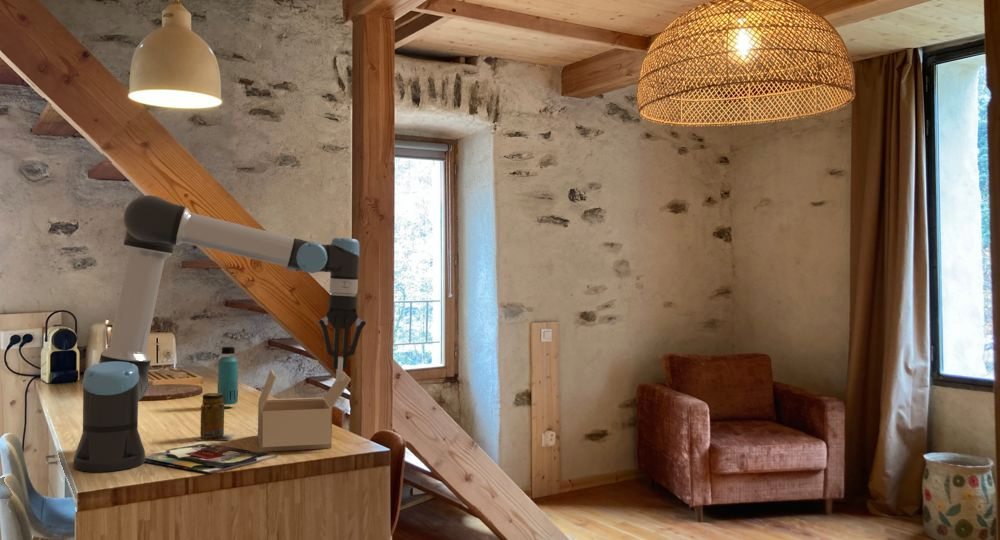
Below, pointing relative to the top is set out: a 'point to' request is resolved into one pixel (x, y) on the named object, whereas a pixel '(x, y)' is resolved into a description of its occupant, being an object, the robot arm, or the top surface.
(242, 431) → the top surface
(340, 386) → the right flap
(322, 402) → the carton
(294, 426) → the near flap
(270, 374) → the left flap
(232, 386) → the beverage bottle
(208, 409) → the condiment
